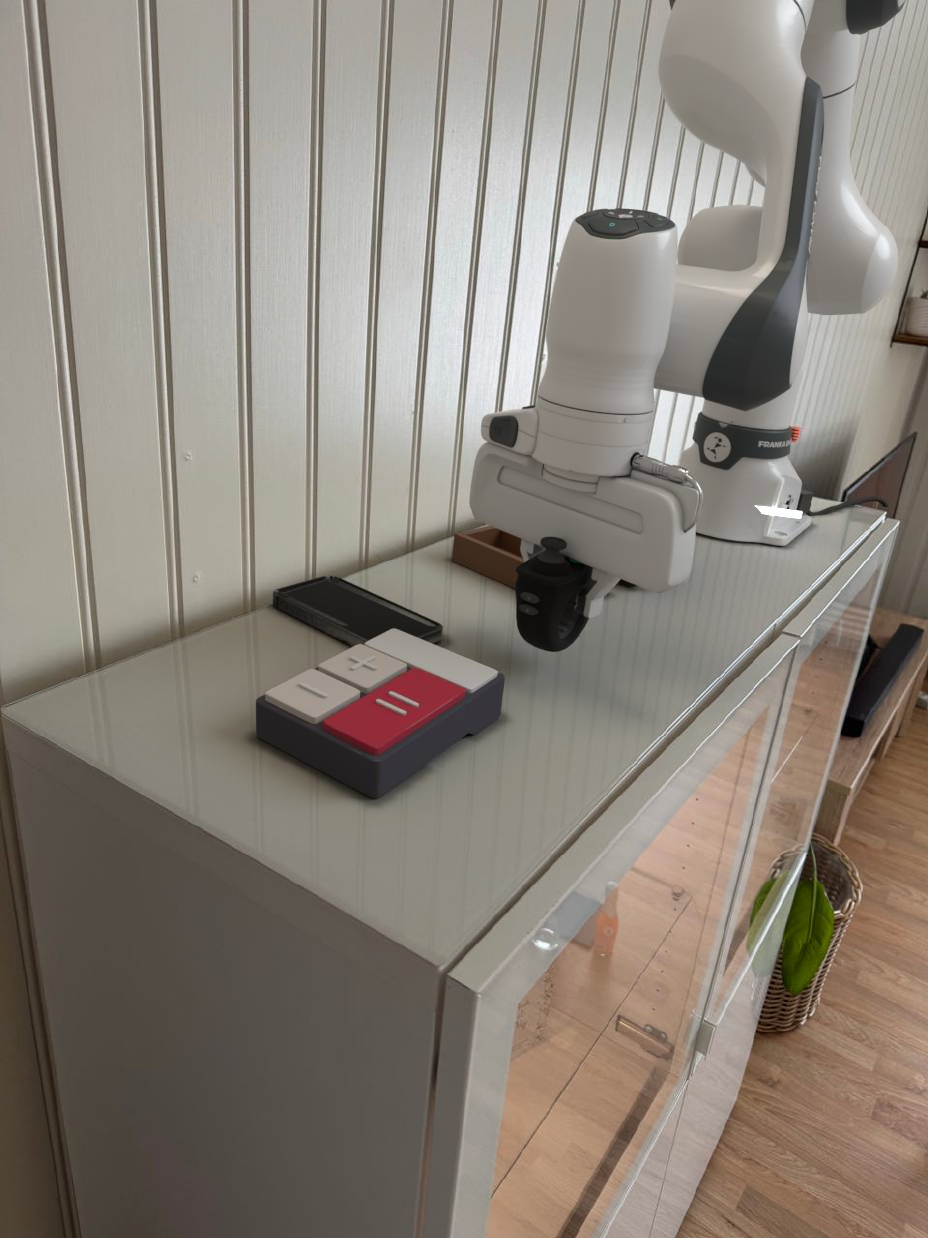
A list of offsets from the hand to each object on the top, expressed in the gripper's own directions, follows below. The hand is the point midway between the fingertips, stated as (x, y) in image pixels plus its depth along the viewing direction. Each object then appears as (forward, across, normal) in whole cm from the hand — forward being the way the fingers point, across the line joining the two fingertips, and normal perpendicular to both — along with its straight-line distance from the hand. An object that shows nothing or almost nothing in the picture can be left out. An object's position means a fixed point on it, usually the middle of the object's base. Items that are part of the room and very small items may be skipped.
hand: (562, 603), depth 77 cm
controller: (+4, 0, 0) cm, 4 cm away
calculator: (+6, +1, +18) cm, 19 cm away
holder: (+6, +15, -14) cm, 22 cm away
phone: (+6, +16, +8) cm, 19 cm away
